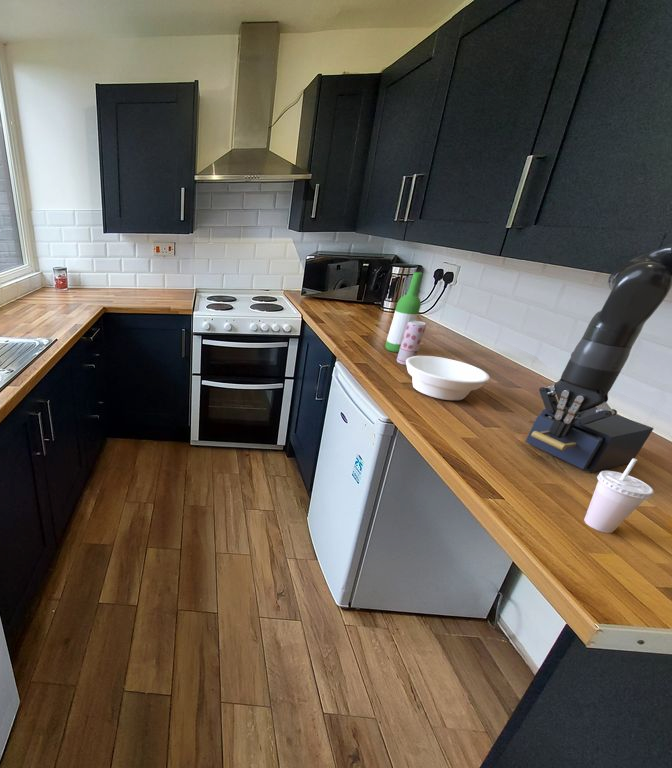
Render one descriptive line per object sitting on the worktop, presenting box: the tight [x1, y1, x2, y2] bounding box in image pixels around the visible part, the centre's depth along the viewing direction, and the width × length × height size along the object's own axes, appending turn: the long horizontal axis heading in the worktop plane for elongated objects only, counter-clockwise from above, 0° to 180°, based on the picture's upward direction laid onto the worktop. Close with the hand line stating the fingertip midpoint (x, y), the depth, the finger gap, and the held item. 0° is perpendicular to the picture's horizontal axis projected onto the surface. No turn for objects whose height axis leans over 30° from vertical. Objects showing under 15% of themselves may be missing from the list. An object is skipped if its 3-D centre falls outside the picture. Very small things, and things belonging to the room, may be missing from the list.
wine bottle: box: [384, 271, 423, 354], centre depth 152 cm, size 8×8×30 cm
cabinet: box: [540, 406, 654, 474], centre depth 92 cm, size 15×13×9 cm
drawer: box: [524, 413, 606, 470], centre depth 90 cm, size 18×11×7 cm, turn 108°
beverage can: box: [396, 320, 427, 366], centre depth 142 cm, size 6×6×15 cm
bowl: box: [405, 355, 491, 401], centre depth 120 cm, size 21×21×8 cm
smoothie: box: [583, 457, 654, 534], centre depth 69 cm, size 6×6×14 cm
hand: (557, 435), depth 88 cm, fingers closed
